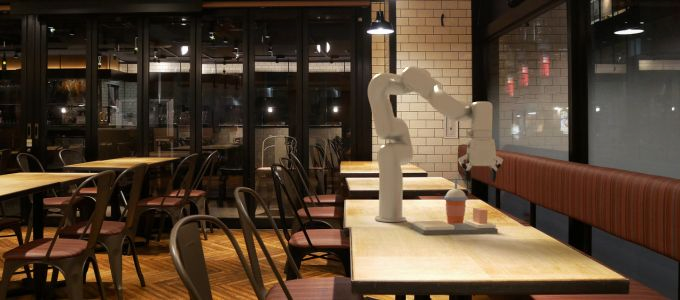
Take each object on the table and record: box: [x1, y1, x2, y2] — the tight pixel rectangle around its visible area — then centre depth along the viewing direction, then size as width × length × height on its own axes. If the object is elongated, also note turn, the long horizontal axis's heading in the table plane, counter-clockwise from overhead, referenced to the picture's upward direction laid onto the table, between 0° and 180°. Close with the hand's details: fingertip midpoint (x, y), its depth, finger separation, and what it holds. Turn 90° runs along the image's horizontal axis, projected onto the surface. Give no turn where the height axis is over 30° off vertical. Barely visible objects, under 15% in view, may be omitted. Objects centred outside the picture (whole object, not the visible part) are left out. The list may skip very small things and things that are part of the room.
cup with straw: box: [443, 177, 468, 224], centre depth 242 cm, size 9×9×18 cm
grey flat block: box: [409, 220, 499, 236], centre depth 223 cm, size 15×28×3 cm, turn 101°
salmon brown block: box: [464, 207, 497, 229], centre depth 224 cm, size 12×7×6 cm, turn 11°
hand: (480, 181), depth 224 cm, fingers open, 9 cm apart
